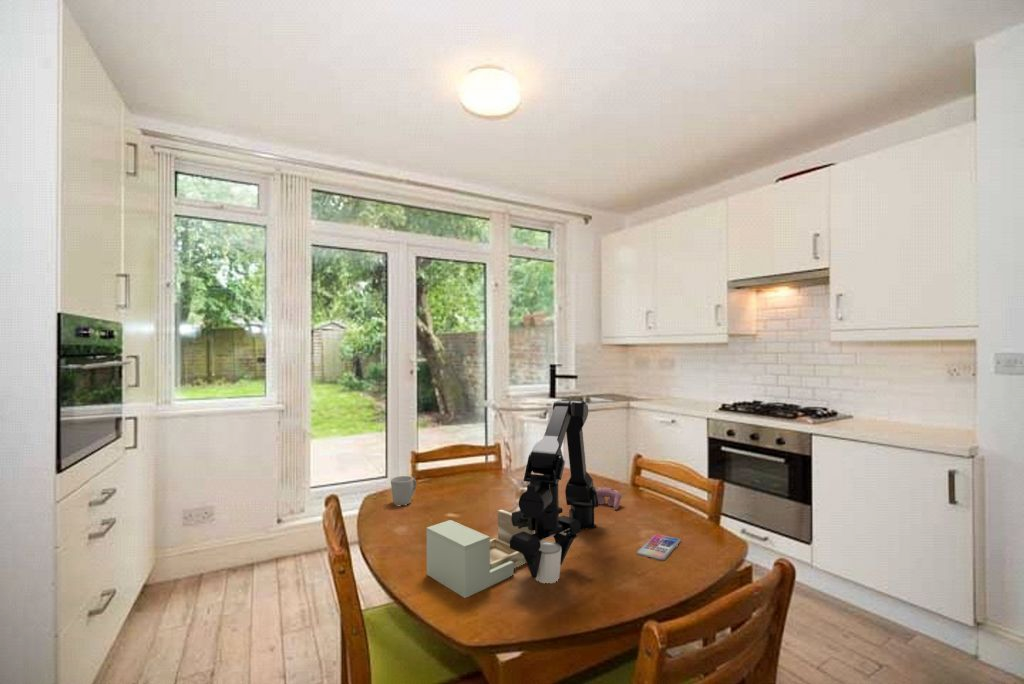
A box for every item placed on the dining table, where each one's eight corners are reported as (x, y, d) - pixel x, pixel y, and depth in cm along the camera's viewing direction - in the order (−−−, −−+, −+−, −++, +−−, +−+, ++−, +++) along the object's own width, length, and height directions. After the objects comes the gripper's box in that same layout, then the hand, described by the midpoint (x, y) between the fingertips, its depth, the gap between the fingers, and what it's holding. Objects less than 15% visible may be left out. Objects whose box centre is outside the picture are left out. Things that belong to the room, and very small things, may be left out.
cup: (386, 504, 159) (385, 479, 159) (408, 496, 167) (408, 473, 167) (401, 509, 154) (401, 483, 154) (423, 500, 162) (423, 476, 163)
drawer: (501, 547, 124) (501, 509, 124) (534, 561, 115) (533, 521, 115) (461, 563, 115) (461, 522, 115) (493, 580, 106) (493, 536, 106)
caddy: (474, 555, 119) (473, 512, 119) (513, 575, 109) (513, 527, 109) (426, 574, 109) (426, 527, 109) (465, 598, 99) (464, 546, 99)
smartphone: (635, 552, 119) (655, 533, 131) (635, 556, 119) (655, 536, 131) (663, 559, 115) (681, 538, 127) (663, 563, 115) (682, 542, 127)
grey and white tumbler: (560, 586, 103) (560, 554, 103) (529, 583, 105) (529, 552, 105) (563, 571, 110) (562, 542, 110) (534, 569, 111) (534, 539, 112)
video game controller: (620, 512, 154) (623, 491, 156) (616, 510, 150) (619, 488, 153) (592, 507, 159) (595, 486, 162) (587, 504, 155) (591, 483, 158)
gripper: (547, 487, 120) (547, 548, 120) (493, 504, 107) (493, 572, 107) (581, 497, 112) (582, 562, 112) (527, 517, 99) (528, 590, 99)
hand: (546, 571), depth 107 cm, fingers open, 8 cm apart
